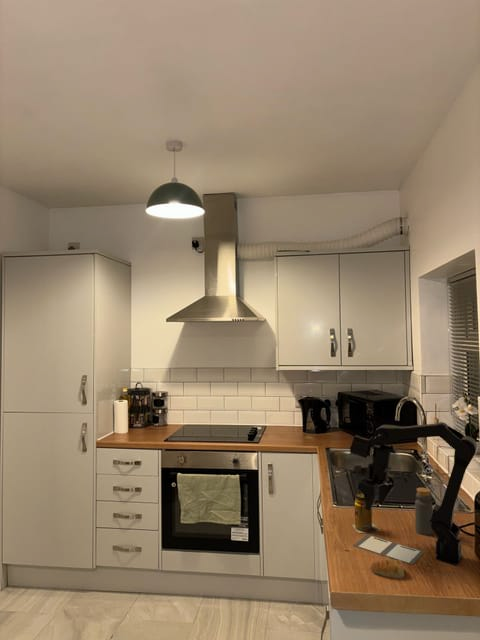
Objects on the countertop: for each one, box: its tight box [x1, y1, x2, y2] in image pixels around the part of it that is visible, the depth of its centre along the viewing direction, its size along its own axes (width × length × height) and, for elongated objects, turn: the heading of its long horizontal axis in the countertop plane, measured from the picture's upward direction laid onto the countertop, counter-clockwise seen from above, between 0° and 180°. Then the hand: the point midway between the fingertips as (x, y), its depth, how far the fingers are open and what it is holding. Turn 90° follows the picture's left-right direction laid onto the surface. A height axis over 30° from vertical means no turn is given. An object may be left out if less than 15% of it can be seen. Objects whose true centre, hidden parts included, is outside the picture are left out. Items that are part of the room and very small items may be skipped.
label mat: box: [352, 533, 425, 566], centre depth 152 cm, size 20×11×1 cm, turn 49°
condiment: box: [351, 493, 381, 534], centre depth 168 cm, size 7×8×12 cm
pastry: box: [370, 558, 405, 579], centre depth 137 cm, size 9×7×4 cm
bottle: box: [414, 487, 434, 536], centre depth 165 cm, size 6×6×15 cm
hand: (374, 507), depth 157 cm, fingers open, 9 cm apart
